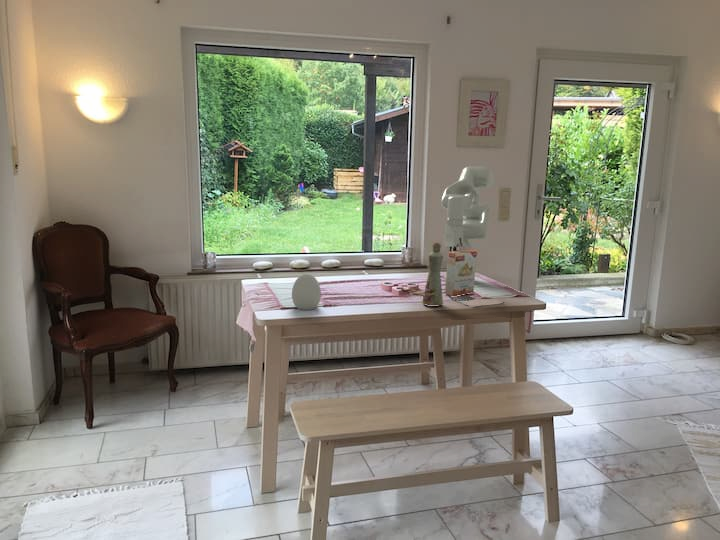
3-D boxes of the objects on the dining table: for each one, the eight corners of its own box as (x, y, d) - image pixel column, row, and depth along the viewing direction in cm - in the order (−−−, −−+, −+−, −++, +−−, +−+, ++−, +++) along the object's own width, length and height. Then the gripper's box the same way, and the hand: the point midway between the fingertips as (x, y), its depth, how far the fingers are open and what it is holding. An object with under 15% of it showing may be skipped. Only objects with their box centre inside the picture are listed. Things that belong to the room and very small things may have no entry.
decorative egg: (321, 303, 259) (321, 270, 256) (320, 311, 248) (321, 276, 244) (292, 303, 259) (292, 269, 256) (290, 311, 247) (291, 275, 244)
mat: (450, 298, 275) (450, 297, 274) (481, 295, 283) (481, 293, 283) (472, 307, 261) (472, 305, 261) (503, 303, 269) (504, 302, 269)
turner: (399, 290, 287) (399, 288, 286) (405, 289, 290) (405, 286, 290) (426, 297, 276) (426, 295, 276) (432, 295, 280) (432, 293, 280)
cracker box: (453, 297, 277) (456, 253, 272) (444, 295, 281) (447, 251, 277) (474, 294, 285) (477, 251, 280) (465, 291, 290) (468, 249, 285)
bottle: (442, 308, 258) (446, 244, 252) (421, 306, 260) (424, 243, 254) (443, 303, 266) (447, 241, 260) (423, 301, 268) (426, 240, 262)
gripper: (438, 220, 287) (436, 258, 291) (457, 224, 274) (455, 263, 278) (451, 220, 291) (449, 257, 294) (470, 224, 278) (468, 262, 282)
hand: (452, 260), depth 286 cm, fingers closed
